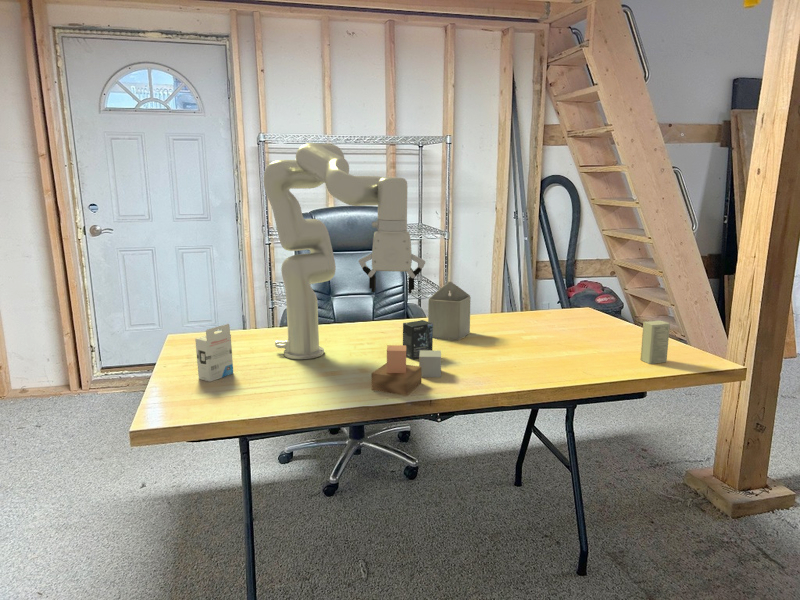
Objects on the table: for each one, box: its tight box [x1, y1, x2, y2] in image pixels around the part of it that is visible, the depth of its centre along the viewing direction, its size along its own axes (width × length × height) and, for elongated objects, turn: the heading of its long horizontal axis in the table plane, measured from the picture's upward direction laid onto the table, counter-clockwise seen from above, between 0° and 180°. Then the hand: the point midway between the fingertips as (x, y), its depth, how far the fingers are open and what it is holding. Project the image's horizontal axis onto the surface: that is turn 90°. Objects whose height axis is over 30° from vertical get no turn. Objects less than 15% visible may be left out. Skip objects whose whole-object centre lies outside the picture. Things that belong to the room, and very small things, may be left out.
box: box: [402, 319, 434, 360], centre depth 175 cm, size 8×6×11 cm
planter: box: [427, 280, 471, 341], centre depth 195 cm, size 16×8×19 cm, turn 111°
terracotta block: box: [386, 344, 407, 373], centre depth 148 cm, size 5×5×6 cm
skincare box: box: [640, 319, 671, 365], centre depth 168 cm, size 6×4×12 cm
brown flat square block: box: [370, 362, 422, 397], centre depth 149 cm, size 10×10×5 cm
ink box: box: [194, 323, 234, 383], centre depth 157 cm, size 9×5×15 cm, turn 148°
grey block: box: [418, 349, 442, 378], centre depth 159 cm, size 6×6×6 cm
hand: (391, 291), depth 148 cm, fingers open, 9 cm apart
